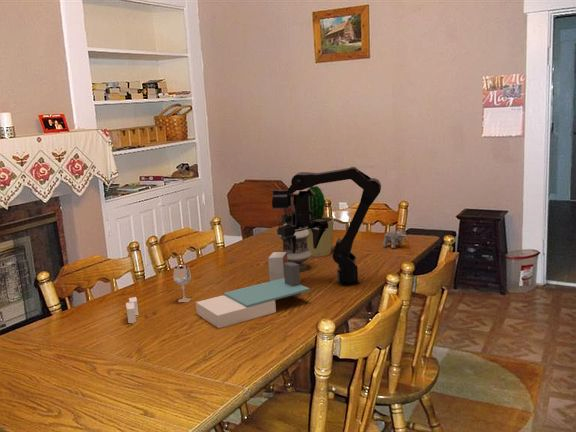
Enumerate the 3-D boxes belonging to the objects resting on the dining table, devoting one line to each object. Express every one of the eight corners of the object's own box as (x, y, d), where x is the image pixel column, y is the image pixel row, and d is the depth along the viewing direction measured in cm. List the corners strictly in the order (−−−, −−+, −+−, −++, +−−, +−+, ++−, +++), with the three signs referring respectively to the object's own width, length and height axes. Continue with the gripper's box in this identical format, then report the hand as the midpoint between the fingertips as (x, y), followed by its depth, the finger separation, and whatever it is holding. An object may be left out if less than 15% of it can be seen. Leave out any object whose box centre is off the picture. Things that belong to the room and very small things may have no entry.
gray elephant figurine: (388, 244, 261) (386, 228, 259) (414, 244, 255) (413, 227, 253) (381, 250, 253) (379, 232, 252) (407, 250, 247) (406, 232, 246)
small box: (284, 285, 211) (282, 257, 209) (269, 285, 212) (267, 257, 210) (289, 278, 218) (287, 251, 216) (274, 279, 219) (272, 251, 217)
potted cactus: (342, 250, 255) (338, 182, 249) (325, 259, 242) (321, 187, 236) (311, 247, 263) (307, 181, 257) (293, 256, 250) (289, 187, 245)
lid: (284, 287, 204) (282, 258, 202) (310, 298, 191) (308, 267, 189) (224, 303, 192) (221, 272, 190) (247, 316, 179) (245, 283, 177)
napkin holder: (136, 328, 180) (134, 310, 179) (105, 325, 184) (103, 308, 183) (163, 311, 193) (161, 294, 192) (134, 308, 197) (132, 292, 196)
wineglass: (195, 298, 203) (192, 264, 201) (187, 303, 198) (184, 269, 195) (181, 297, 205) (177, 264, 203) (173, 302, 200) (169, 269, 197)
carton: (251, 299, 197) (250, 288, 197) (275, 312, 184) (275, 300, 183) (197, 314, 187) (195, 302, 186) (218, 328, 174) (217, 315, 173)
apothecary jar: (276, 272, 228) (273, 227, 225) (288, 263, 239) (285, 220, 236) (305, 273, 224) (302, 227, 220) (316, 264, 235) (313, 221, 231)
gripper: (310, 202, 218) (313, 242, 221) (267, 209, 209) (270, 251, 212) (328, 205, 209) (330, 247, 212) (284, 213, 199) (287, 257, 202)
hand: (304, 250), depth 210 cm, fingers open, 9 cm apart
